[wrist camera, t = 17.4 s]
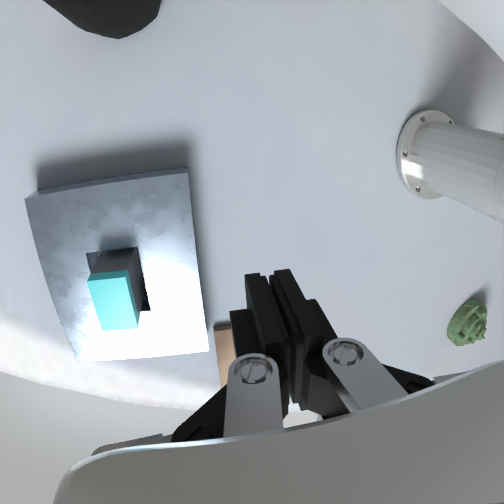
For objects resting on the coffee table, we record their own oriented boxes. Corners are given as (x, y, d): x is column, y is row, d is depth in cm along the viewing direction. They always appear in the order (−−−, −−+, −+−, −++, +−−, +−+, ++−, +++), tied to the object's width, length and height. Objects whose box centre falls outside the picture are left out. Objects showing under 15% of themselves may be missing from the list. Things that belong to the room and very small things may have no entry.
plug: (135, 244, 36) (125, 277, 29) (144, 289, 38) (138, 328, 31) (103, 248, 35) (86, 281, 28) (114, 292, 38) (102, 331, 30)
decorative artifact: (485, 298, 55) (460, 298, 52) (506, 315, 48) (483, 317, 46) (466, 337, 58) (439, 340, 56) (484, 355, 52) (458, 361, 49)
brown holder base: (299, 314, 44) (309, 331, 41) (295, 381, 50) (302, 399, 47) (213, 327, 42) (216, 346, 39) (222, 394, 48) (226, 413, 45)
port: (187, 167, 33) (188, 172, 30) (206, 333, 43) (209, 350, 39) (37, 190, 30) (24, 198, 27) (82, 344, 40) (77, 361, 36)
